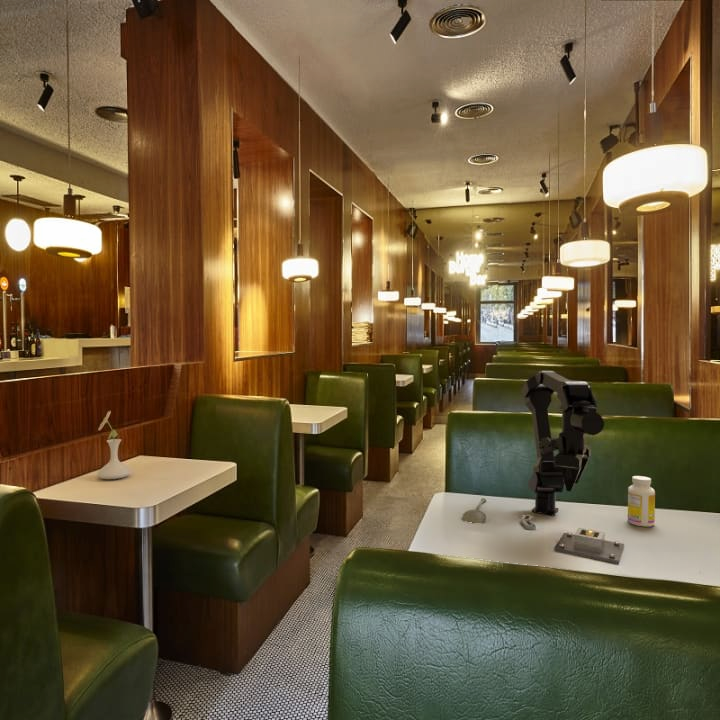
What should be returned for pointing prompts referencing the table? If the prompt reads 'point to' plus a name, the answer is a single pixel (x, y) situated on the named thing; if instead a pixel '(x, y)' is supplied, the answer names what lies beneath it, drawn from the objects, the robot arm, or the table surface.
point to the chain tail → (528, 522)
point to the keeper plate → (608, 553)
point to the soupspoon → (475, 514)
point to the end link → (589, 540)
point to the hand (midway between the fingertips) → (572, 487)
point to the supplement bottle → (641, 502)
